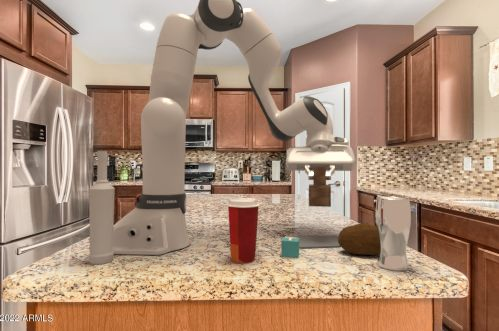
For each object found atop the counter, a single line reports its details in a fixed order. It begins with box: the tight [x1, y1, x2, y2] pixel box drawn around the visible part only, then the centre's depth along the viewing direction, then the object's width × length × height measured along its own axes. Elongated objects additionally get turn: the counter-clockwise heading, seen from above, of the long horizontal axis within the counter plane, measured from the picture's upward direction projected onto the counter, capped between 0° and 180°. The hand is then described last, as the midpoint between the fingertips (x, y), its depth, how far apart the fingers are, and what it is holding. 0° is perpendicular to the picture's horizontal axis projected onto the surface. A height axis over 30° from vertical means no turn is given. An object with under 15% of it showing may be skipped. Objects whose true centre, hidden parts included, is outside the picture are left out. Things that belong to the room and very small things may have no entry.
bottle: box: [88, 150, 116, 265], centre depth 66 cm, size 5×5×25 cm
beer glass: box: [375, 195, 412, 272], centre depth 64 cm, size 7×7×15 cm
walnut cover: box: [308, 167, 332, 208], centre depth 85 cm, size 6×6×11 cm
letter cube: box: [280, 236, 300, 259], centre depth 72 cm, size 4×4×4 cm
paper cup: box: [226, 197, 261, 264], centre depth 68 cm, size 8×8×14 cm
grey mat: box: [287, 234, 342, 250], centre depth 85 cm, size 16×12×1 cm
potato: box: [338, 222, 380, 256], centre depth 73 cm, size 8×12×8 cm, turn 84°
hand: (319, 178), depth 84 cm, fingers closed on walnut cover, 3 cm apart
